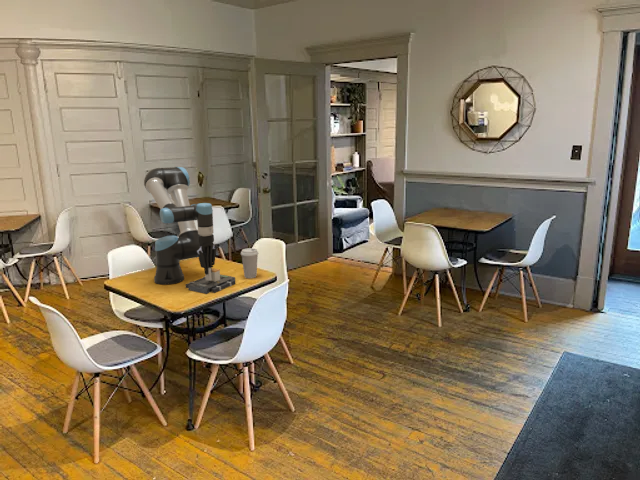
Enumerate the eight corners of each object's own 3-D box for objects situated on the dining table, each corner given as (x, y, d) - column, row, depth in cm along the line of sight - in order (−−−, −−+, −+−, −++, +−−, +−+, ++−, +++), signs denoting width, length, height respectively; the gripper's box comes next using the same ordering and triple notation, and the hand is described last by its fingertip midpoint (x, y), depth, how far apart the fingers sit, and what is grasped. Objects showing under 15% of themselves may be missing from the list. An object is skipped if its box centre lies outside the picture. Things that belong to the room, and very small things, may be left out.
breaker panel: (188, 290, 243) (188, 285, 242) (217, 278, 262) (217, 273, 261) (206, 293, 237) (206, 288, 237) (235, 281, 256) (235, 276, 255)
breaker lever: (208, 280, 250) (207, 269, 248) (212, 278, 253) (212, 268, 251) (215, 281, 247) (214, 271, 246) (220, 279, 250) (219, 269, 249)
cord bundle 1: (185, 287, 247) (184, 283, 246) (209, 278, 262) (209, 274, 262) (191, 289, 245) (191, 285, 244) (215, 279, 260) (215, 275, 259)
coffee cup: (256, 279, 259) (255, 252, 256) (239, 278, 261) (237, 251, 257) (261, 274, 268) (260, 248, 265) (245, 273, 270) (244, 247, 267)
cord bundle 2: (211, 292, 240) (210, 288, 239) (232, 283, 253) (231, 279, 253) (215, 293, 238) (214, 289, 238) (236, 284, 252) (235, 280, 252)
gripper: (202, 237, 234) (205, 284, 239) (220, 232, 245) (222, 277, 250) (190, 236, 237) (193, 282, 243) (209, 231, 248) (211, 275, 254)
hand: (208, 279), depth 246 cm, fingers closed
